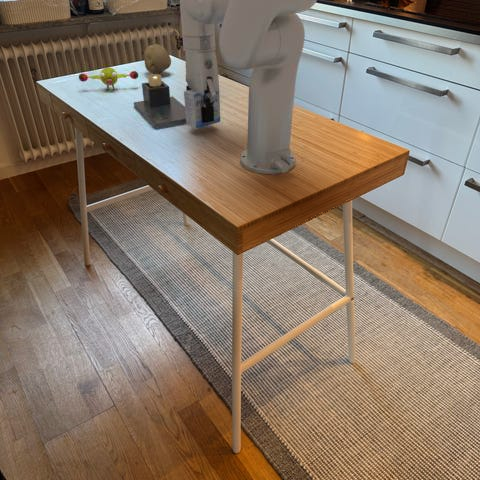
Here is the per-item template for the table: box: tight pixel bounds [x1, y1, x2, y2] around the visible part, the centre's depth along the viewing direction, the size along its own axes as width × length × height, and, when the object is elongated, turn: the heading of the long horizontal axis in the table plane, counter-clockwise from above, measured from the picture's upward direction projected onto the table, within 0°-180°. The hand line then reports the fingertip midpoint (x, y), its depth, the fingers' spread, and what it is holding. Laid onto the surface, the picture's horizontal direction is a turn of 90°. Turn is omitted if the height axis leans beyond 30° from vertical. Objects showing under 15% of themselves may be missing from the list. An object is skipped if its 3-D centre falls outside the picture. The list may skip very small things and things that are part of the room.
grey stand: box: [133, 80, 188, 130], centre depth 124 cm, size 18×12×6 cm, turn 28°
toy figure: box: [78, 67, 139, 91], centre depth 140 cm, size 18×6×7 cm, turn 103°
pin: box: [147, 73, 163, 88], centre depth 126 cm, size 4×4×5 cm
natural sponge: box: [143, 43, 172, 75], centre depth 153 cm, size 9×9×10 cm
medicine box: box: [183, 90, 221, 130], centre depth 114 cm, size 8×4×9 cm, turn 128°
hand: (203, 117), depth 115 cm, fingers closed on medicine box, 5 cm apart
